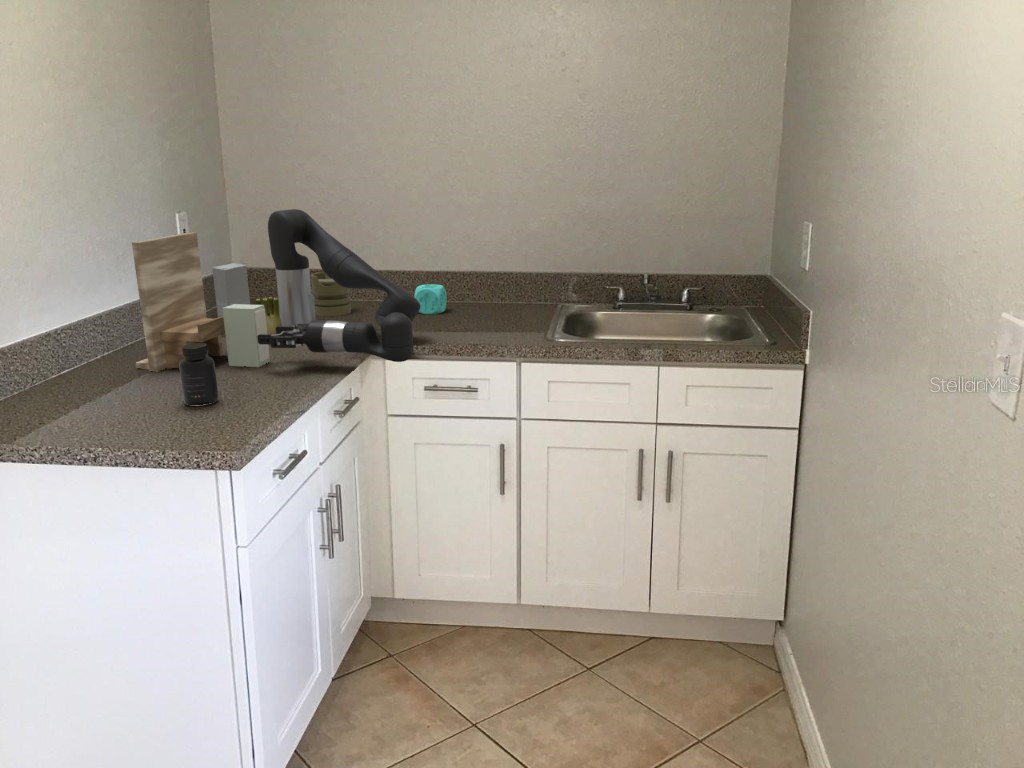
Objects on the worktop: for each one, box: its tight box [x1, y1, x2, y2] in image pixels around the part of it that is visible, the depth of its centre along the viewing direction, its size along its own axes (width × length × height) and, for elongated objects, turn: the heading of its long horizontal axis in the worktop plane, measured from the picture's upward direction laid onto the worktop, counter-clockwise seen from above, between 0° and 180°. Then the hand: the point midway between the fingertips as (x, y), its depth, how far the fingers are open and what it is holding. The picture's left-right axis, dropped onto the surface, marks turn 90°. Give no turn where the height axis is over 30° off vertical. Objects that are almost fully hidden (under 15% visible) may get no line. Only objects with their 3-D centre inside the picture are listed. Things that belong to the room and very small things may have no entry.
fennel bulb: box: [255, 296, 282, 342], centre depth 225 cm, size 6×5×12 cm
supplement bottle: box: [178, 343, 220, 405], centre depth 172 cm, size 7×7×12 cm
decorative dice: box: [413, 283, 448, 315], centre depth 262 cm, size 8×8×8 cm
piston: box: [310, 271, 352, 317], centre depth 263 cm, size 11×12×11 cm
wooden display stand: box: [131, 231, 225, 373], centre depth 203 cm, size 18×22×30 cm
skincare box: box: [211, 262, 251, 318], centre depth 259 cm, size 8×7×16 cm
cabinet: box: [223, 304, 271, 368], centre depth 202 cm, size 8×5×14 cm, turn 76°
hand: (267, 334), depth 200 cm, fingers open, 8 cm apart
